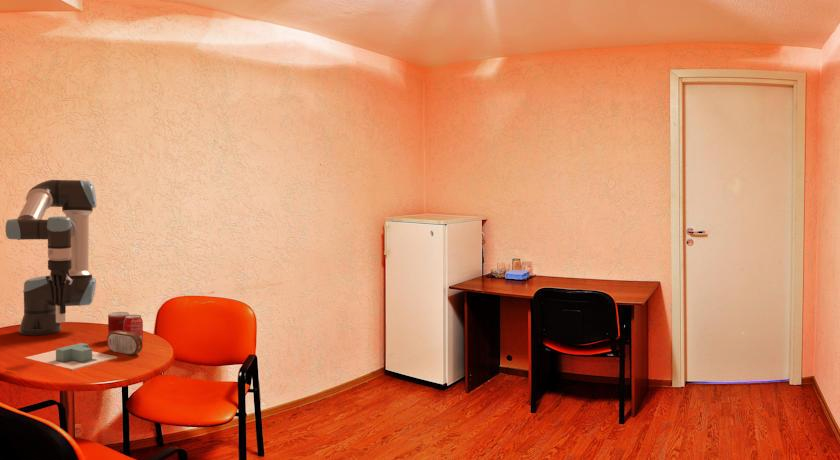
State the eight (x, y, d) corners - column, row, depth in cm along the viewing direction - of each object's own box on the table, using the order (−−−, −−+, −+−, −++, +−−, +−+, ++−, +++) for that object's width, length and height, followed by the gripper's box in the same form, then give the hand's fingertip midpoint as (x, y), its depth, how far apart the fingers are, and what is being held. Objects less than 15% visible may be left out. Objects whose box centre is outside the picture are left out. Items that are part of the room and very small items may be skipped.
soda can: (127, 343, 252) (127, 314, 251) (145, 343, 252) (145, 314, 251) (120, 348, 245) (120, 318, 244) (139, 348, 245) (139, 318, 244)
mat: (70, 347, 243) (70, 346, 243) (117, 358, 232) (117, 356, 232) (24, 358, 227) (24, 357, 227) (71, 370, 215) (71, 369, 215)
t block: (81, 353, 234) (81, 342, 234) (99, 357, 230) (99, 346, 230) (55, 359, 225) (55, 348, 225) (74, 364, 221) (74, 353, 221)
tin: (143, 355, 237) (143, 333, 236) (136, 357, 234) (136, 335, 233) (112, 350, 242) (112, 328, 241) (105, 352, 239) (105, 330, 238)
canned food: (121, 343, 252) (121, 316, 251) (103, 341, 253) (103, 314, 253) (133, 338, 259) (133, 312, 258) (116, 337, 261) (116, 311, 260)
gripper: (38, 258, 228) (39, 321, 231) (61, 262, 223) (62, 326, 225) (57, 255, 235) (58, 317, 237) (81, 259, 229) (81, 322, 232)
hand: (60, 321), depth 231 cm, fingers closed
